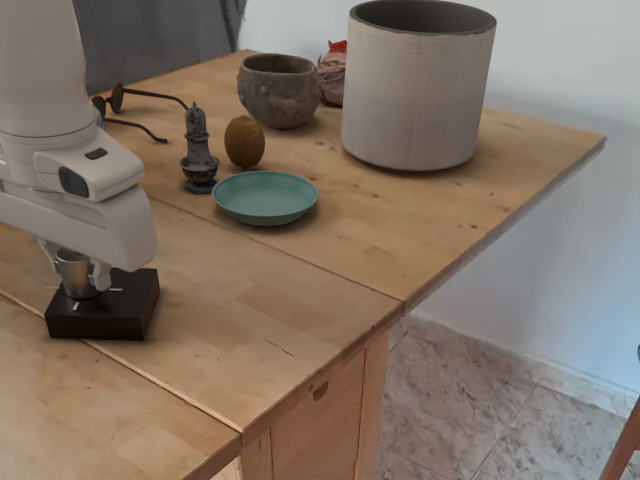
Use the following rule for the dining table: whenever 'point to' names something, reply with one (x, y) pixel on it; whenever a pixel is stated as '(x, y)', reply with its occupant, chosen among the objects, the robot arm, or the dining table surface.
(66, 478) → the dining table surface
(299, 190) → the saucer
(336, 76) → the food item
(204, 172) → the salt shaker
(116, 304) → the dial base
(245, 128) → the fruit
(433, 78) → the planter
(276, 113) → the bowl
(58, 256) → the hob knob
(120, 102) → the eyeglasses
